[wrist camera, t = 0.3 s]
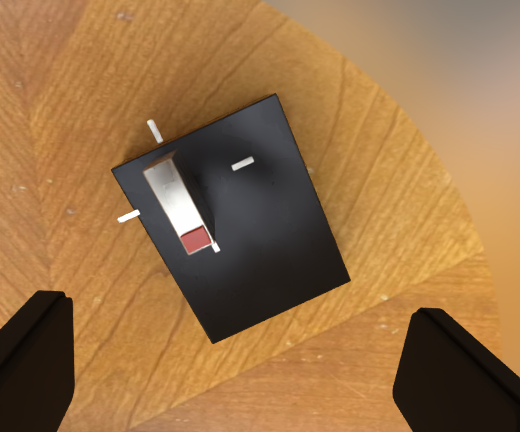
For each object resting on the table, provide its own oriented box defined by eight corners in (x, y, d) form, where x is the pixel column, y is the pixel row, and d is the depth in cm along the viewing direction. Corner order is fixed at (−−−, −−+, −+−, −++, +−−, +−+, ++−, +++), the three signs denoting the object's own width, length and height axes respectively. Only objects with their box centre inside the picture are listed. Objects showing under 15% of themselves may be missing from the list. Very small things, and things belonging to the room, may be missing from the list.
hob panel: (94, 147, 24) (77, 153, 21) (259, 70, 24) (266, 65, 21) (199, 327, 29) (198, 353, 26) (337, 264, 29) (352, 282, 26)
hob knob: (154, 158, 22) (140, 172, 18) (178, 147, 22) (170, 158, 18) (192, 229, 24) (188, 258, 19) (215, 218, 24) (215, 245, 19)
